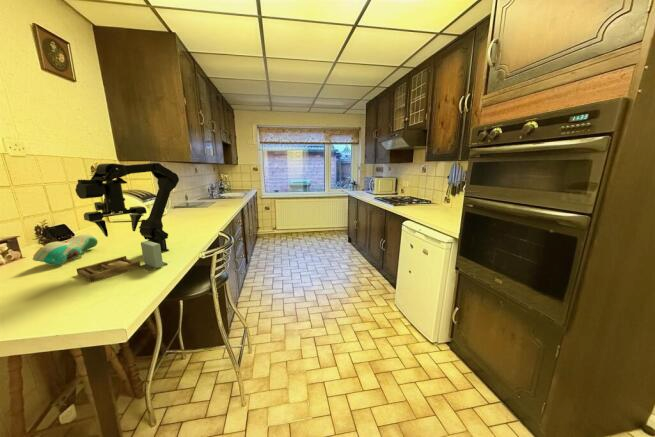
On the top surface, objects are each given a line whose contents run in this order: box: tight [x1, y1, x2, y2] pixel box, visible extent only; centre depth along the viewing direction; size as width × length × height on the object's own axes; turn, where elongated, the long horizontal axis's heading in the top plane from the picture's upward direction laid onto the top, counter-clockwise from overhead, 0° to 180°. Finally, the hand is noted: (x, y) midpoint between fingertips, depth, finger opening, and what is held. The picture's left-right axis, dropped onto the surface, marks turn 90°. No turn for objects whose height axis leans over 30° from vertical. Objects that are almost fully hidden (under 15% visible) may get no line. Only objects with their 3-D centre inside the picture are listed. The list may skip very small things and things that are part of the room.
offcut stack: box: [108, 261, 129, 268], centre depth 98 cm, size 5×8×2 cm, turn 60°
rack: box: [76, 255, 141, 283], centre depth 95 cm, size 15×12×2 cm
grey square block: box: [140, 240, 164, 269], centre depth 99 cm, size 3×9×9 cm, turn 60°
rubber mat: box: [139, 261, 168, 271], centre depth 100 cm, size 7×7×1 cm
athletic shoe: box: [32, 234, 99, 267], centre depth 110 cm, size 27×9×12 cm
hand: (120, 233), depth 101 cm, fingers open, 9 cm apart
